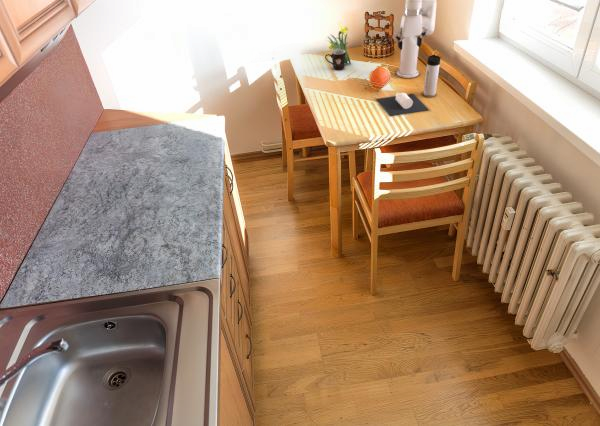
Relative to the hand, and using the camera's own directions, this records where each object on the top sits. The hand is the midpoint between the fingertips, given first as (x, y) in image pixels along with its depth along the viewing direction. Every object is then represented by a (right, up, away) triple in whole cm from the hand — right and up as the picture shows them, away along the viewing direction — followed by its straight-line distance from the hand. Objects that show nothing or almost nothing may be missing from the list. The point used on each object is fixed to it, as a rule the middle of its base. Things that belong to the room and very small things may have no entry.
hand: (409, 47), depth 225 cm
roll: (-3, -28, +4) cm, 28 cm away
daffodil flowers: (-28, +17, +63) cm, 71 cm away
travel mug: (+13, -21, +12) cm, 28 cm away
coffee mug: (-33, +5, +49) cm, 59 cm away
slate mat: (-3, -28, +4) cm, 28 cm away
